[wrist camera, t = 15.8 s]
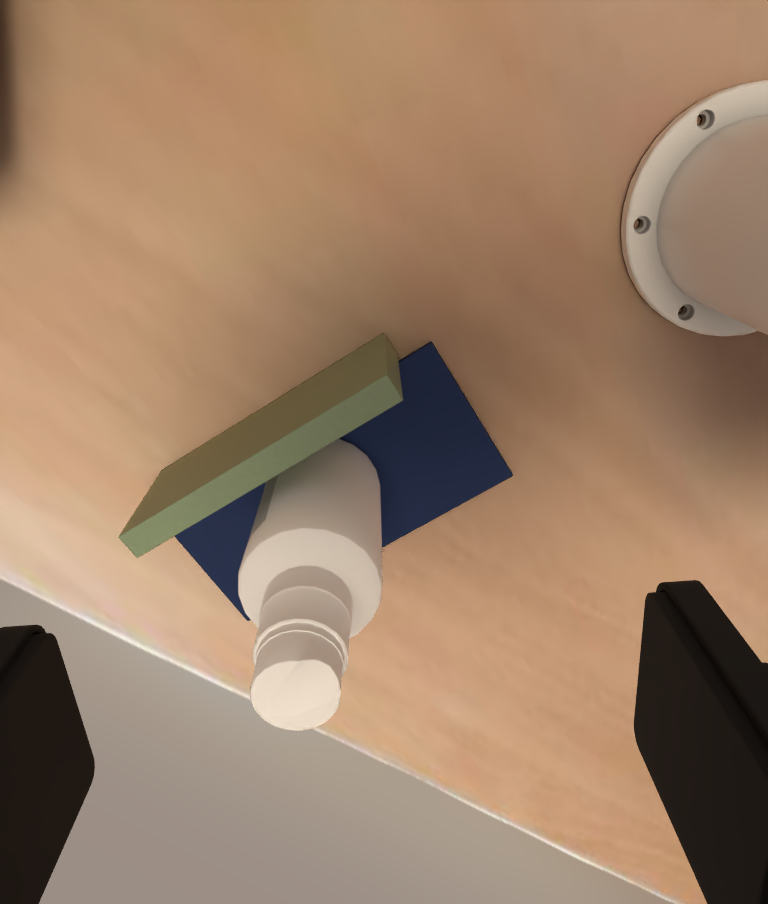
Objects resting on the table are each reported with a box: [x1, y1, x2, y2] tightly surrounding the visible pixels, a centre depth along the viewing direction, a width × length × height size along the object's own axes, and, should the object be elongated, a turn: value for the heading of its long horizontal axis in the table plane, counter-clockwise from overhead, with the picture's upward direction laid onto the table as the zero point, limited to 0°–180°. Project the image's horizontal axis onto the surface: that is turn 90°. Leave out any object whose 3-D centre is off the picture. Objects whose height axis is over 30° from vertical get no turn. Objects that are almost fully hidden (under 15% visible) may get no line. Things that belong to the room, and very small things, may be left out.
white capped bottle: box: [238, 439, 383, 730], centre depth 35 cm, size 7×7×18 cm
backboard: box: [119, 333, 403, 558], centre depth 38 cm, size 2×16×8 cm, turn 122°
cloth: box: [175, 342, 513, 621], centre depth 43 cm, size 10×20×1 cm, turn 122°
